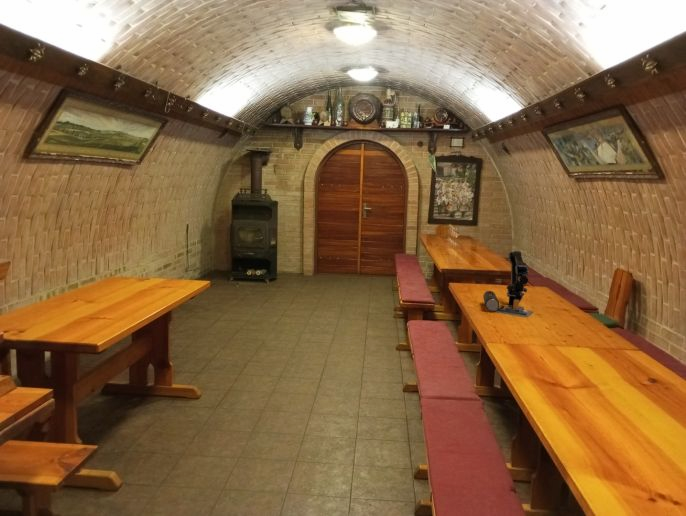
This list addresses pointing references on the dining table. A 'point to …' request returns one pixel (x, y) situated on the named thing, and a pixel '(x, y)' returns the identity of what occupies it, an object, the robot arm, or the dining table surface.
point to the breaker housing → (520, 309)
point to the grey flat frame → (510, 311)
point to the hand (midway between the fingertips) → (518, 303)
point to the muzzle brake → (490, 300)
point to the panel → (515, 313)
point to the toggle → (516, 304)
